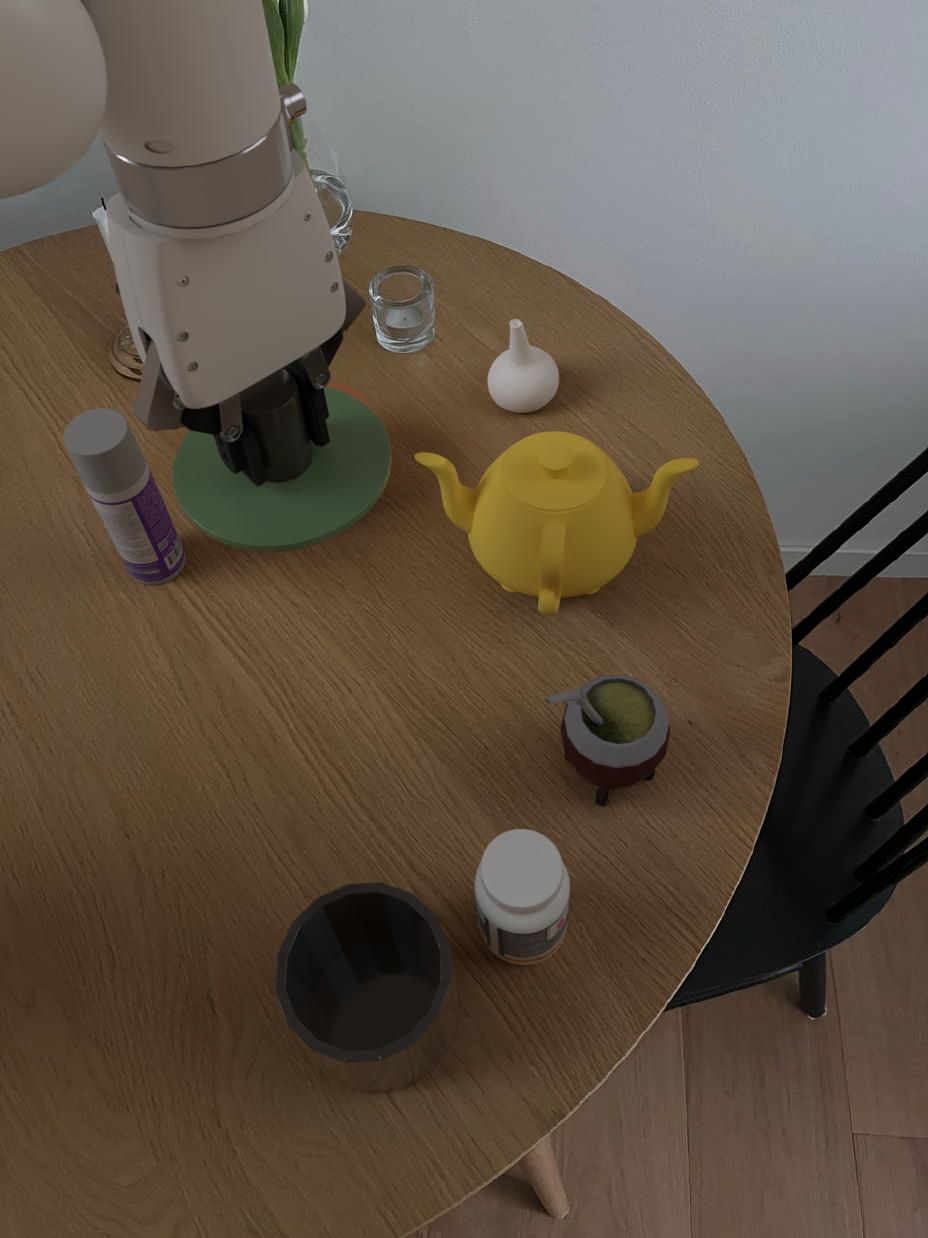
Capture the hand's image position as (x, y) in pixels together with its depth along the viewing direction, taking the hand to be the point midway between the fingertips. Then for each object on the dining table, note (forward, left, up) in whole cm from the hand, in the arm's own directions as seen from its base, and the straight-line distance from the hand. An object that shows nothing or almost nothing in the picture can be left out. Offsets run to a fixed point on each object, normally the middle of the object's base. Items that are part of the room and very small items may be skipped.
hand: (278, 449), depth 60 cm
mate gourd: (+22, -2, -23) cm, 32 cm away
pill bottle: (+20, -14, -23) cm, 33 cm away
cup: (+13, -22, -23) cm, 35 cm away
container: (-17, +4, -23) cm, 29 cm away
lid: (0, 0, -1) cm, 1 cm away
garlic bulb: (+5, +31, -23) cm, 39 cm away
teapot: (+13, +14, -23) cm, 30 cm away
